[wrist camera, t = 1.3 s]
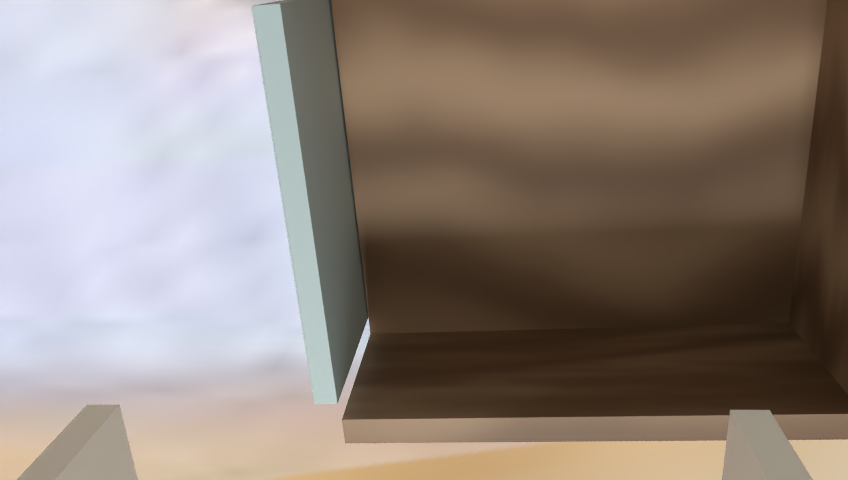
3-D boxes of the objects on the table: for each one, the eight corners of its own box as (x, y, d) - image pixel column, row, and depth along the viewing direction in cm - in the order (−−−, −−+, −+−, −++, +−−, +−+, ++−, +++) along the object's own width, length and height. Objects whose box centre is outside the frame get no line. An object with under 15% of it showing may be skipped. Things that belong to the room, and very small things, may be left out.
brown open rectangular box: (331, -54, 32) (243, -64, 20) (853, -101, 29) (1078, -141, 18) (377, 339, 39) (330, 491, 28) (799, 329, 36) (936, 491, 25)
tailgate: (305, -4, 31) (247, 6, 24) (330, -6, 31) (279, 3, 24) (347, 316, 37) (310, 403, 30) (368, 315, 37) (337, 403, 30)
